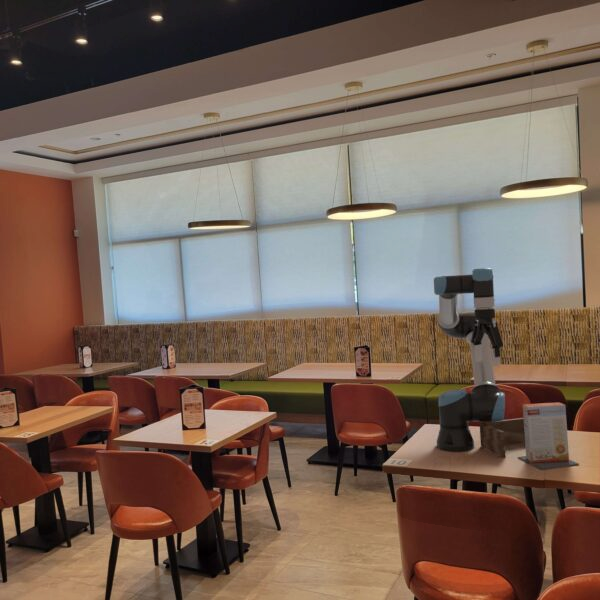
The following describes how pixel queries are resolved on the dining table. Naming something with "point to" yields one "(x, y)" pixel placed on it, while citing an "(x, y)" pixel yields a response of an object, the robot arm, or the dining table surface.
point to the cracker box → (545, 432)
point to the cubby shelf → (501, 435)
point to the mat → (549, 463)
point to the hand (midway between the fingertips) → (487, 363)
